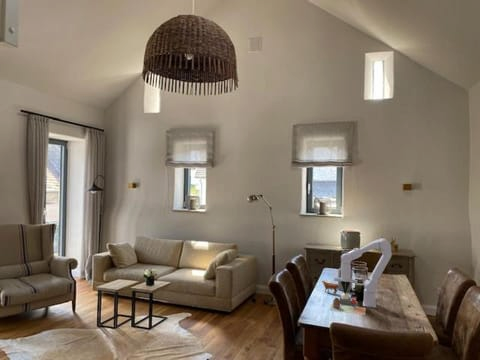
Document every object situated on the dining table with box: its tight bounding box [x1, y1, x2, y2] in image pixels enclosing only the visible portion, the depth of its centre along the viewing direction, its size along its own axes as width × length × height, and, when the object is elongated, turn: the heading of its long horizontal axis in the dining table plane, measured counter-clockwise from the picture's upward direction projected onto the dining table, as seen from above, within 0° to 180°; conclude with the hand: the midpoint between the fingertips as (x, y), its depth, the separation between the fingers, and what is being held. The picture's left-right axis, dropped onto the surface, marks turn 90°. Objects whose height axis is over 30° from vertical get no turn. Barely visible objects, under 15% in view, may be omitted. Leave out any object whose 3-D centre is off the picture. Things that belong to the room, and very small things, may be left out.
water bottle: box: [337, 250, 355, 292], centre depth 269 cm, size 10×10×28 cm
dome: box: [340, 292, 350, 300], centre depth 238 cm, size 5×5×5 cm
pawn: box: [332, 297, 341, 309], centre depth 228 cm, size 4×4×6 cm
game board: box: [329, 303, 367, 316], centre depth 226 cm, size 15×21×1 cm
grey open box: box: [338, 295, 358, 307], centre depth 238 cm, size 7×11×4 cm, turn 70°
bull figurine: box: [321, 279, 339, 295], centre depth 261 cm, size 4×13×8 cm, turn 45°
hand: (345, 293), depth 238 cm, fingers closed, pressing on dome
